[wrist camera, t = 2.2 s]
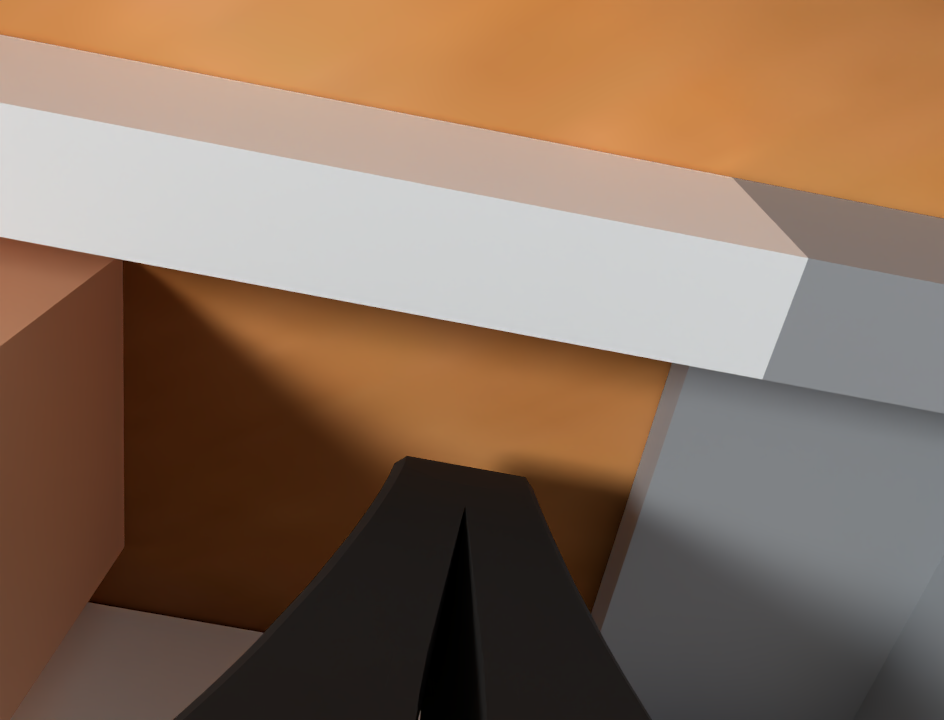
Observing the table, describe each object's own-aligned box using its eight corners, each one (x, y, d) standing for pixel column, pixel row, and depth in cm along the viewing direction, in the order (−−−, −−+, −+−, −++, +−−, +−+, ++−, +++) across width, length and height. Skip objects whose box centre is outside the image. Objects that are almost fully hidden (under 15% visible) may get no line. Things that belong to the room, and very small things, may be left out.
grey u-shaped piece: (1124, 254, 8) (1336, 361, 6) (828, 783, 12) (897, 969, 10) (731, 177, 8) (807, 256, 6) (551, 736, 12) (558, 913, 10)
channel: (731, 177, 8) (807, 256, 6) (551, 736, 12) (558, 913, 10) (-254, -16, 8) (-546, -4, 6) (-133, 619, 11) (-285, 775, 9)
